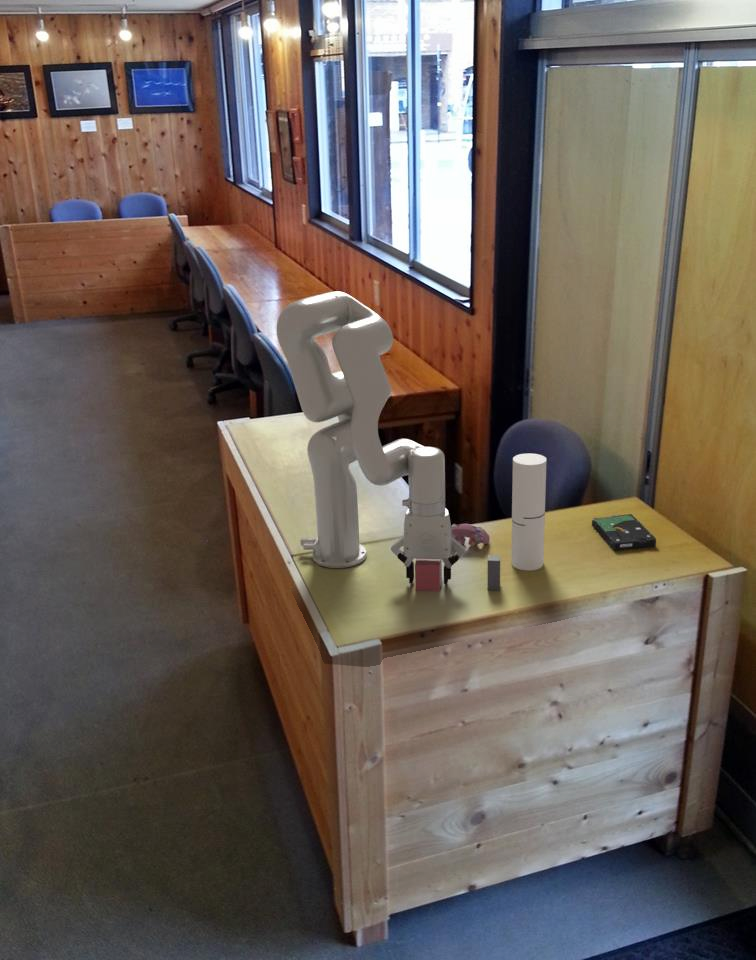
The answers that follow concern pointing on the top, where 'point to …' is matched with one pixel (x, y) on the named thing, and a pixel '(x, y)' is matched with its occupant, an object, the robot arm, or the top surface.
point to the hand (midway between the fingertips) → (428, 580)
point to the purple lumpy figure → (469, 534)
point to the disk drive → (624, 533)
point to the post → (494, 572)
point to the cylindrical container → (528, 511)
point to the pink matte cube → (428, 574)
